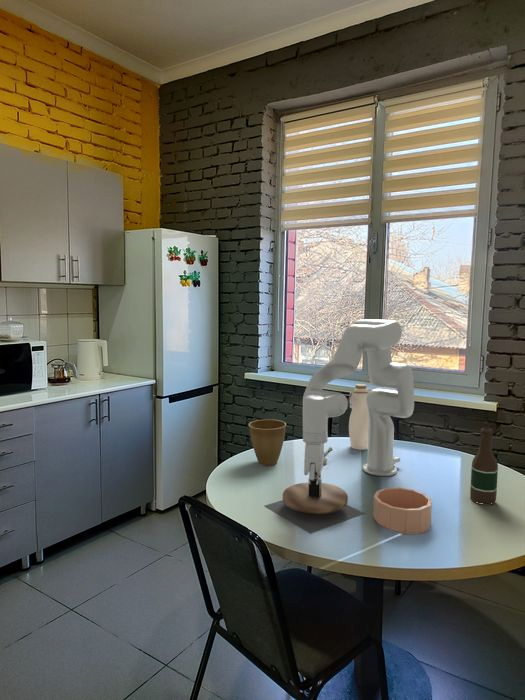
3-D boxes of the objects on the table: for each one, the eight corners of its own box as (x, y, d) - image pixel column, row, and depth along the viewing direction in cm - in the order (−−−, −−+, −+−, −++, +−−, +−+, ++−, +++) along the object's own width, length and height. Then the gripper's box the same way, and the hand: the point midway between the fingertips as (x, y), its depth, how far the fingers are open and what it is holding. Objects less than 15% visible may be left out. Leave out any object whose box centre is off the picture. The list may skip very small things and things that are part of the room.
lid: (317, 480, 163) (317, 463, 162) (361, 501, 146) (361, 481, 146) (269, 496, 151) (269, 477, 150) (312, 520, 135) (312, 499, 134)
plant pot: (269, 454, 203) (269, 417, 201) (293, 463, 191) (293, 424, 190) (241, 461, 193) (241, 423, 192) (264, 472, 182) (264, 430, 180)
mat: (316, 491, 164) (316, 489, 164) (364, 515, 146) (365, 513, 146) (263, 507, 151) (263, 505, 151) (310, 535, 133) (310, 533, 133)
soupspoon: (307, 467, 191) (323, 470, 188) (308, 459, 190) (324, 462, 188) (323, 449, 211) (338, 452, 208) (323, 442, 210) (338, 444, 208)
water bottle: (355, 451, 207) (357, 387, 204) (342, 446, 215) (344, 384, 212) (374, 448, 211) (375, 385, 208) (361, 443, 219) (362, 382, 216)
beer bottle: (494, 497, 159) (498, 426, 157) (497, 507, 152) (501, 433, 149) (469, 494, 162) (472, 424, 159) (470, 503, 154) (474, 430, 152)
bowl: (397, 504, 153) (398, 483, 153) (441, 523, 140) (442, 500, 140) (362, 518, 144) (363, 495, 143) (406, 539, 131) (407, 515, 130)
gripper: (307, 427, 155) (307, 481, 157) (298, 443, 139) (298, 504, 141) (330, 429, 153) (330, 483, 156) (324, 445, 137) (323, 506, 140)
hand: (315, 492), depth 148 cm, fingers closed on lid, 4 cm apart
